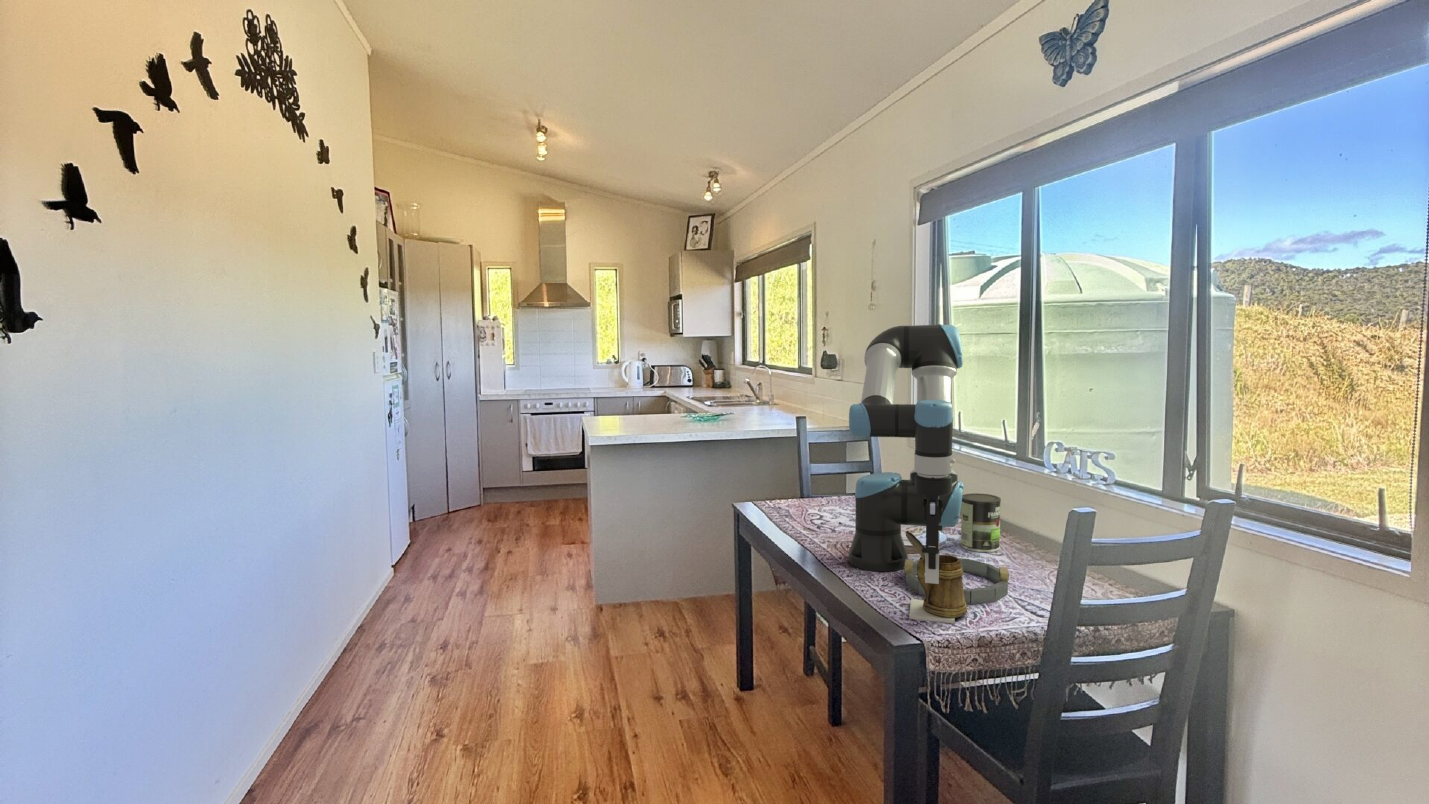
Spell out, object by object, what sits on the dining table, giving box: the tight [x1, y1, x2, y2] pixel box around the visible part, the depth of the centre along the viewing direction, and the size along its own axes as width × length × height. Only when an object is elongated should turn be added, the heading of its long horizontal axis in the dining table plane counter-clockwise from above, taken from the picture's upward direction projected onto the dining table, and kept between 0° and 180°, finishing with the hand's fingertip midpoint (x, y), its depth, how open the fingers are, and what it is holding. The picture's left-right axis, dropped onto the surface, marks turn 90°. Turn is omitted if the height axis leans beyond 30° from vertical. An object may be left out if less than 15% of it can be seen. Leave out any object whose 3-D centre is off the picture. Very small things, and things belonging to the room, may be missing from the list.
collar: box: [904, 557, 1010, 605], centre depth 160 cm, size 23×22×5 cm
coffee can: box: [960, 492, 1002, 553], centre depth 188 cm, size 10×10×14 cm
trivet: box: [908, 598, 956, 624], centre depth 145 cm, size 9×9×1 cm
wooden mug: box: [905, 530, 969, 619], centre depth 143 cm, size 9×14×18 cm, turn 101°
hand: (932, 571), depth 145 cm, fingers open, 13 cm apart
